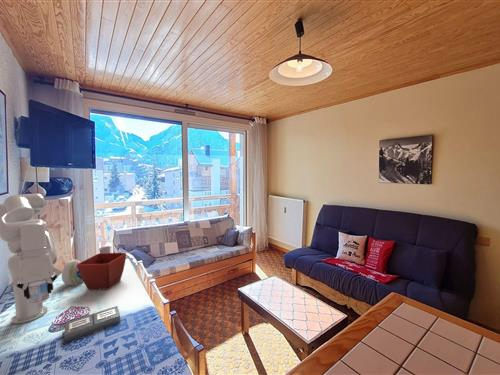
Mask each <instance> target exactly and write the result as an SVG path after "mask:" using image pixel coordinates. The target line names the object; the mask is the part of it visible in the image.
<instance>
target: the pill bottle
mask: <svg viewBox="0 0 500 375" xmlns="http://www.w3.org/2000/svg"><path fill="white" fill-rule="evenodd" d="M28 289H29V297H30V303H31V304H38V303H41V302H42V303H44V302H46V301H48V300H49V299H50V293H48V281H47V280H46V279H44V280H40V281H36V282H31V283H28Z"/></svg>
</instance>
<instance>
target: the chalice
mask: <svg viewBox="0 0 500 375" xmlns="http://www.w3.org/2000/svg"><path fill="white" fill-rule="evenodd" d="M98 252H99V254H100V253H111V245H110V246H108V245H107V246H103V247H102V246H101V247H99V248H98Z"/></svg>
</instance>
